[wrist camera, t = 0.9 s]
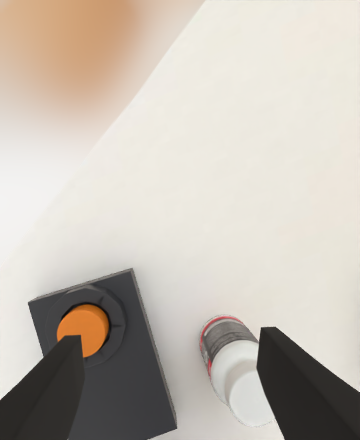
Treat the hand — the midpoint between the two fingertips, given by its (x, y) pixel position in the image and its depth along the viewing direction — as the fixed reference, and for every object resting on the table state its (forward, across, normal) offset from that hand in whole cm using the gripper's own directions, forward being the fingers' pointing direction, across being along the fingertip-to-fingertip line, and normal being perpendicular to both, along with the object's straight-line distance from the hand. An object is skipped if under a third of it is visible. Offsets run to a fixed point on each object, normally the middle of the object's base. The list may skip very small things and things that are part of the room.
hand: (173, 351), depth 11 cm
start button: (+12, +7, +8) cm, 16 cm away
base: (+14, +6, +13) cm, 20 cm away
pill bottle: (+15, -6, +12) cm, 20 cm away
